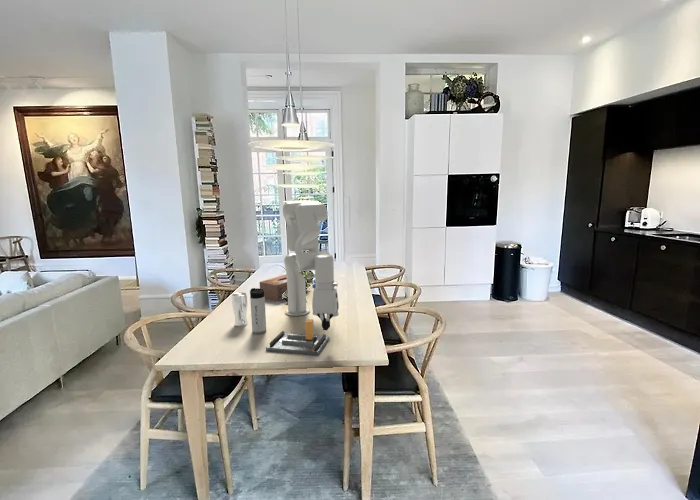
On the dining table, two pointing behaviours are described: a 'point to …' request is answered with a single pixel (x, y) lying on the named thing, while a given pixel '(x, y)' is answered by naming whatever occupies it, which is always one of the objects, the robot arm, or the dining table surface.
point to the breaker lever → (309, 330)
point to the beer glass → (240, 308)
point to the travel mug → (258, 311)
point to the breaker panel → (297, 344)
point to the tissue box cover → (274, 287)
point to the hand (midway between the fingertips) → (326, 329)
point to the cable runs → (284, 332)
